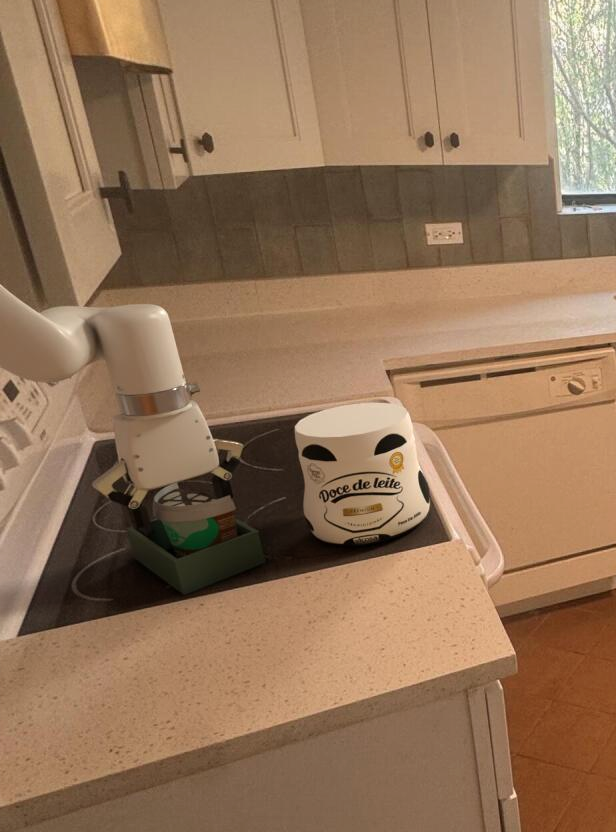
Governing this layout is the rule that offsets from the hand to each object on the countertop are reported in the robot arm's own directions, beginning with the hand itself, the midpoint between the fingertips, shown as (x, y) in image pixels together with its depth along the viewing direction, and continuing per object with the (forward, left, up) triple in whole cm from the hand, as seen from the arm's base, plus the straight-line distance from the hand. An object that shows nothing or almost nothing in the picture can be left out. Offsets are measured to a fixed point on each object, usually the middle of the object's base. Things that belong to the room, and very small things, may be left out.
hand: (186, 517), depth 108 cm
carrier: (0, 0, -7) cm, 7 cm away
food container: (0, 0, -7) cm, 7 cm away
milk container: (+10, +20, -8) cm, 24 cm away
